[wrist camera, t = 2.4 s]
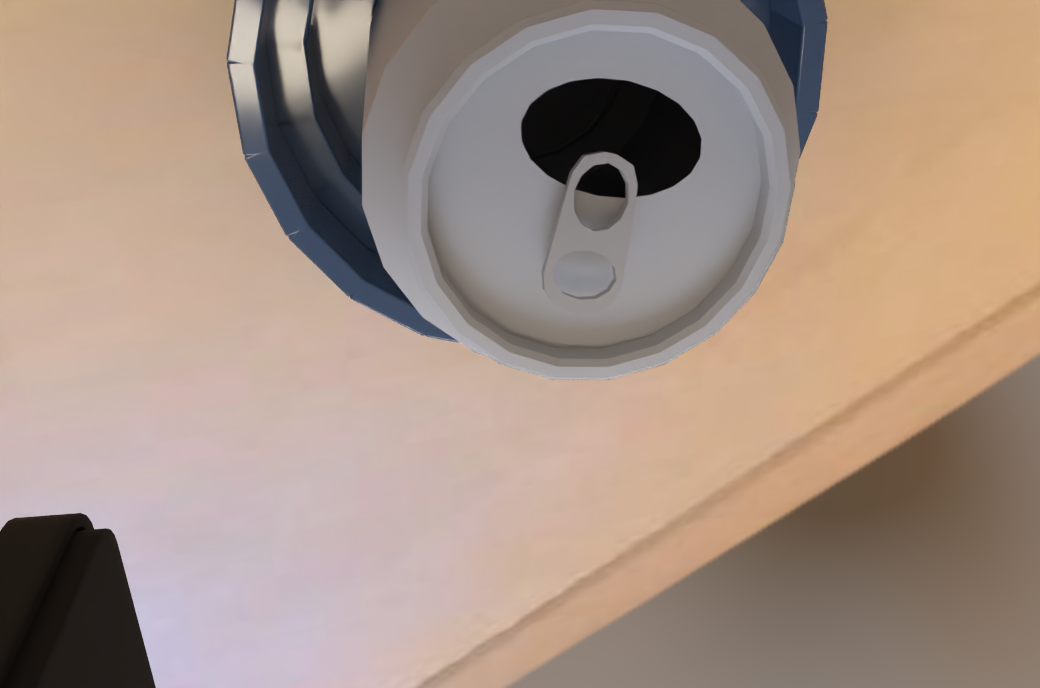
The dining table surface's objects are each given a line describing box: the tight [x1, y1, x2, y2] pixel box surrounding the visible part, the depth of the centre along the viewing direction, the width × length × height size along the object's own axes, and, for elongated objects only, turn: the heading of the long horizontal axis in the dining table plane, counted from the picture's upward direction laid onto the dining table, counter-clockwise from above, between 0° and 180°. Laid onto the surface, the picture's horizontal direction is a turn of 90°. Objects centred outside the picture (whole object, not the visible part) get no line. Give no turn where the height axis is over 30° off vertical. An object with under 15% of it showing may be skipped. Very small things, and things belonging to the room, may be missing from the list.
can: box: [362, 0, 800, 380], centre depth 20 cm, size 8×8×12 cm
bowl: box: [227, 0, 827, 343], centre depth 24 cm, size 13×13×4 cm
